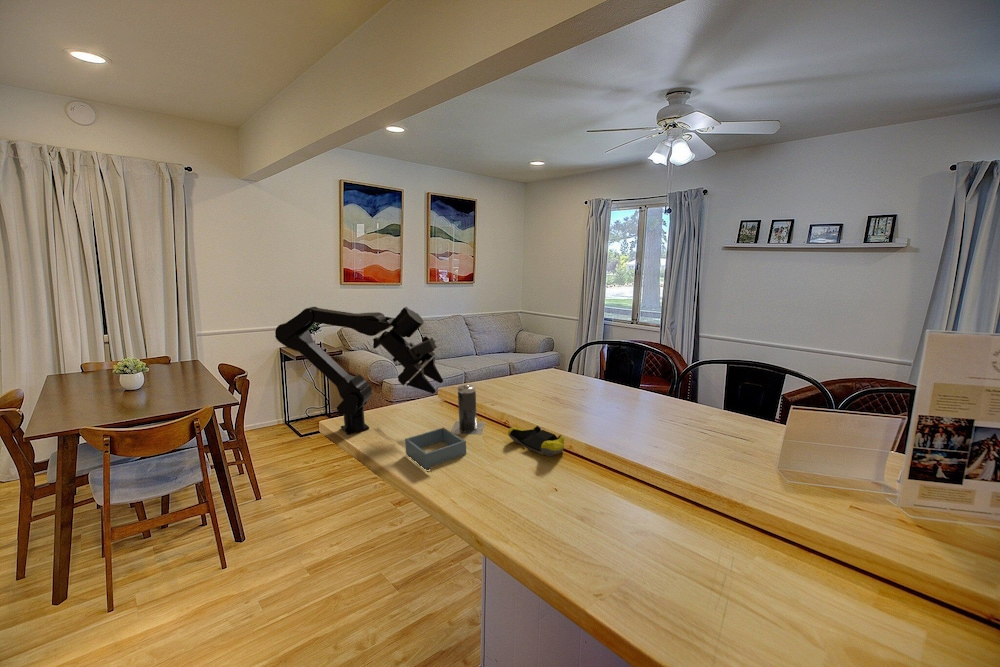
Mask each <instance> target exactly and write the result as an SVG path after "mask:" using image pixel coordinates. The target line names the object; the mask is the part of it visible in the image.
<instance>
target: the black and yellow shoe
mask: <svg viewBox="0 0 1000 667" xmlns="http://www.w3.org/2000/svg"><path fill="white" fill-rule="evenodd" d="M507 434H508V437H509V438H510V440H512V441H514V442H516V443H517V444H518V445H521V446H523V447H525V448H526V449H527V450H528V451H533V452H536V453H538V454H540V455H544V456H546V457H552V456H554V455H560V454H561V453H562V452H564V450H565V434H559V435H558V436H556V434H554V433H552V432H549V431H547V430H544V429H542V427H541V425H536V426H533V427H532V428H530V429H525V428H520V427H515V426H513V427H509V429H508V433H507ZM559 453H560V454H559Z"/></svg>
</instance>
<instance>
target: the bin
mask: <svg viewBox="0 0 1000 667" xmlns="http://www.w3.org/2000/svg"><path fill="white" fill-rule="evenodd" d="M440 442H445V443H446V444H448V445H447V446H443V447H441V448H437V449H434V450H432V451H428V452H426V451H425V450H423V449H422V448H424V447H428V446H430V445H431V446H432V445H434V444H437V443H440ZM404 445H405V455H406V454H407V455H408V456H409V457H411V458H412V459H413V460H414V461H416V462H417V463H418V464H419V465H420V466H422V467H423V468H424V469H426V470H429V469H431V468H430V467H434V466H436V465H439V464H442V463H445V462H448V461H450V460H453V459H456V458H459V457H462V456H464V455H467V441H466V440H465V439H464V438H462V437H460V436H458V434H453V433H452V432H451V430H449V429H446V428H445V427H441V428H436V429H433V430H430V431H427V432H424V433H421V434H416V435H413V436H410V437H407V438H405V440H404ZM407 455H406V456H407ZM408 456H407V457H408ZM409 457H408V458H409ZM412 459H411V460H412ZM413 460H412V461H413ZM414 461H413V462H414ZM417 463H416V464H417ZM418 464H417V465H418ZM419 465H418V466H419ZM420 466H419V467H420ZM423 468H422V469H423ZM424 469H423V470H424Z"/></svg>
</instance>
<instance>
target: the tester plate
mask: <svg viewBox="0 0 1000 667" xmlns="http://www.w3.org/2000/svg"><path fill="white" fill-rule="evenodd" d="M486 422H487V421H478V420H477V428H476V429H475V430H472V431H463V430H461V429H460V427H459V420H456V421H455V422H454V424H453V426H452V428H451V430H450V432H452V433H453V434H455V435H483V431H484V428H485V425H486Z"/></svg>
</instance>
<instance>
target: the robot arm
mask: <svg viewBox="0 0 1000 667" xmlns="http://www.w3.org/2000/svg"><path fill="white" fill-rule="evenodd" d="M315 323H316V324H322V325H327V326H336V327H341V328H342V327H343V328H347V329H348V328H349V329H352V330H354V331H356V332H357V333H360V334H361V335H362V334H363V335H366V336H370V337H373V336H375V337H374V338H373V339H372V341H373V343H372V344H373V345H372V348H373V349H377V348H378V347H380V346H381V347H383V349H385V350H386V351H387V353H389V354H390V355H391V356H392V357H393V358H392V361H393V362H394V363H396V362H397V363H399V364H400V365H401V366H402V367H403V368H404V369H402V372H401V373H400V374H399V375H398V376H397V381H398V382H399V383H400V384H401V386H404V385H405V386H406V387H413V388H416V389H418V390H422V391H423V392H427V393H429V394H432V395H433V394H434V393H436V391H437V390H436V389H435V387H434V386H433V385H432V384H431V382H430V381H429V380H428V378H429V379H431V380H433V381H435V382H437V383H439V384H442V383H444V379H443V377H442V376H441V374H440V372H439V370H438V369H437V367H436V362H435V361H436V356H435V354H436V353H434V351H435V349H437V348H438V347H437V345H436V339H434V338H433V337H430V336H429V335H425V336H423V337H422V339H421V342H419V343H417V344H415V343H414V342H408V341H407V340H406V338H410V337H412V336H413V335H414V334H415V333H416V331H417V332H418V330H419V328H420V327H422V326H423V325H424V323H425V322H424V319H423V318H422V317H421V315H420V314H419V313H417V312H415V311H414V310H412V309H409V308H408V307H407V306H405V307H403V308H402V309H401V310H400V312H399V313H398V314H397V315H396V316H395V317H390V316H389V317H388V316H385V314H384V313H382V312H379V311H378V312H360V313H356V312H355V313H354V312H347V311H340V310H335V309H329V308H328V309H326V308H321V307H317V306H310V307H307V308H304V309H302V311H301V312H299V313H298V314H297V315H295V316H293V318H291V319H289V320H288V321H287V322H284V323H282V324H279V325H278V326H277V327H276V328H275V331H274V332H275V339H276V341H278V342H279V343H280V344H282V345H283V346H285V347H286V348H288V349H291V350H293V351H295V352H298V353H300V354H301V355H302V356H303V357H304V358H305V359H306V360H308V361H309V362H310V363H311V364H312V365H313V366H314V367H315V368H316V369H317V370H318V371H319V372H321V374H323V375H324V376H325V377H326V378H327V379H328V380H329V381H330V382H331V383H333V385H335V387H336V389H337V391H338V394H339V397H340V398H341V399H342V401H341V402H340V403H339V404H338V405H337V407H336V409H337V412H338V414H340V415H343V423H344V424H343V425H341V426H340V429H341V428H342V429H343V430H344V431H345V432H346V433H345V432H344V433H345V434H347V435H351V434H350V433H352V434H354V433H353V432H356V433H358V432H357V431H359V432H362V430H363V431H366V429H367V430H369V429H370V426H369V425H368V424H366V423H365V421H366V420H365V412H364V411H365V410H364V406H365V405H367V403H368V400H369V399H371V397H372V394H373V391H372V390H373V389H372V387H371V385H370V382H369V381H367V380H366V379H365V378H364V377H363V376H362V375H361V374H358V373H357V375H356V376H353V375H352V374H349V372H347V371H346V370H345V369H344V368H343V367H342V366H340V365H339V364H338V362H336V361H335V360H334V359H333V358H332V357H331V356H330V355H329V354H328V353H327V352H326V351H324V350H323V349H322V348H321V347H320V346H319V345H318V344H317V343H316V342H315V341H314V339H313V336H312V334H311V332H310V330H309V329H311V327H313V325H314V324H315ZM390 328H391V329H390ZM387 329H388V330H389V329H390V330H389V331H387ZM381 333H382V334H381ZM378 334H381V335H380V336H378V337H376V336H377V335H378ZM427 377H428V378H427ZM343 430H342V431H343Z"/></svg>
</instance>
